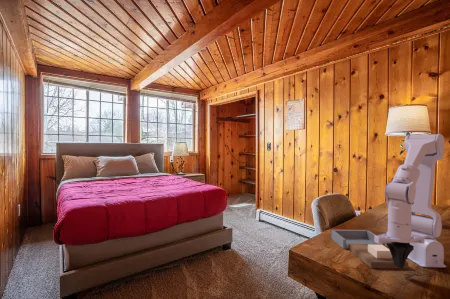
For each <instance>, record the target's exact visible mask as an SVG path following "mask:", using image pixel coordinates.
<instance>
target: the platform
mask: <svg viewBox="0 0 450 299" xmlns="http://www.w3.org/2000/svg"><path fill="white" fill-rule="evenodd" d="M368 245H380V244H348V250H349V251H350V252H352V253H353V254H354V255H355V256H356V257H357V258H359V259H360V260H361V261H363V263H365V264H366V265H367V266H368V267H370V268H371V269H373V268H374V269H400V268H399V267H397V266H395V265H394V262H393V258H376V257H375V256H373V255H372V254H371V253H369V252H368ZM402 269H409V261H407V260H406V262H405V265H404V267H403V268H402Z"/></svg>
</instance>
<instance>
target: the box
mask: <svg viewBox="0 0 450 299" xmlns="http://www.w3.org/2000/svg"><path fill="white" fill-rule="evenodd" d="M374 235H376V234H375V233H373V232H372V231H370V230H368V229H330V239H331V240H332V241H333V242H335V243H336V244H337V245H339V247H341V249H343V250H347V249H348V244H378V243H376V242H374ZM380 245H383V246H385V245H386V243H382V244H380ZM385 247H386V246H385ZM348 250H349V249H348Z"/></svg>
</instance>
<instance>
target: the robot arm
mask: <svg viewBox="0 0 450 299" xmlns="http://www.w3.org/2000/svg"><path fill="white" fill-rule="evenodd" d="M403 143H404V144H403V145H404V150H405V151H406V155H405V160H404V163H403V164H401V165H399V166H397V170H396V172H395V173H394V176H393V178H392V180H391V181H390V182H388V183H386V185H385V188H384V197H385V200H386V206H387V231H386V233H381V234H377V235H376V234H375V235H374V242H376V243H378V244H382V243H385V245H386V246H387V248H388V249H389V250H390V252H391V255H392V258H393V262H394V265H395V266H397V267H399V268H398V269H404V268H403V267H404V265H405V262H406V261H407V260H410V261H412V262H414V263H415V264H416V265H418V266H420V267H422V268H446V267H447V265H446V264H445V262H444V259H445V258H444V256H445V248H444V246H443V244H442V243H441V242H440V241H438V240H437V239H436V238H438V237H440V236H441V234H442V228H443V224H442V217H441V215H440V213H439V212H438V211H436V210H435V209H434V208H433V207H432V203H433V202H432V200H433V192H434V191H433V190H434V179H435V170H436V164H437V161H440V160H442V159H443V158H444V154H445V136H443V134H442V133H436V134H407V135H406V136H405V138H404V141H403ZM413 202H414V205H412V203H413ZM413 213H415V214H413ZM419 214H420V215H419Z"/></svg>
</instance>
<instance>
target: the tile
mask: <svg viewBox="0 0 450 299" xmlns="http://www.w3.org/2000/svg"><path fill="white" fill-rule="evenodd" d="M368 252H369V253H371V254H372V255H373V256H375V257H376V258H392V255H391V252H390V250H389V248H388V247H386V246H383V245H368Z"/></svg>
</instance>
